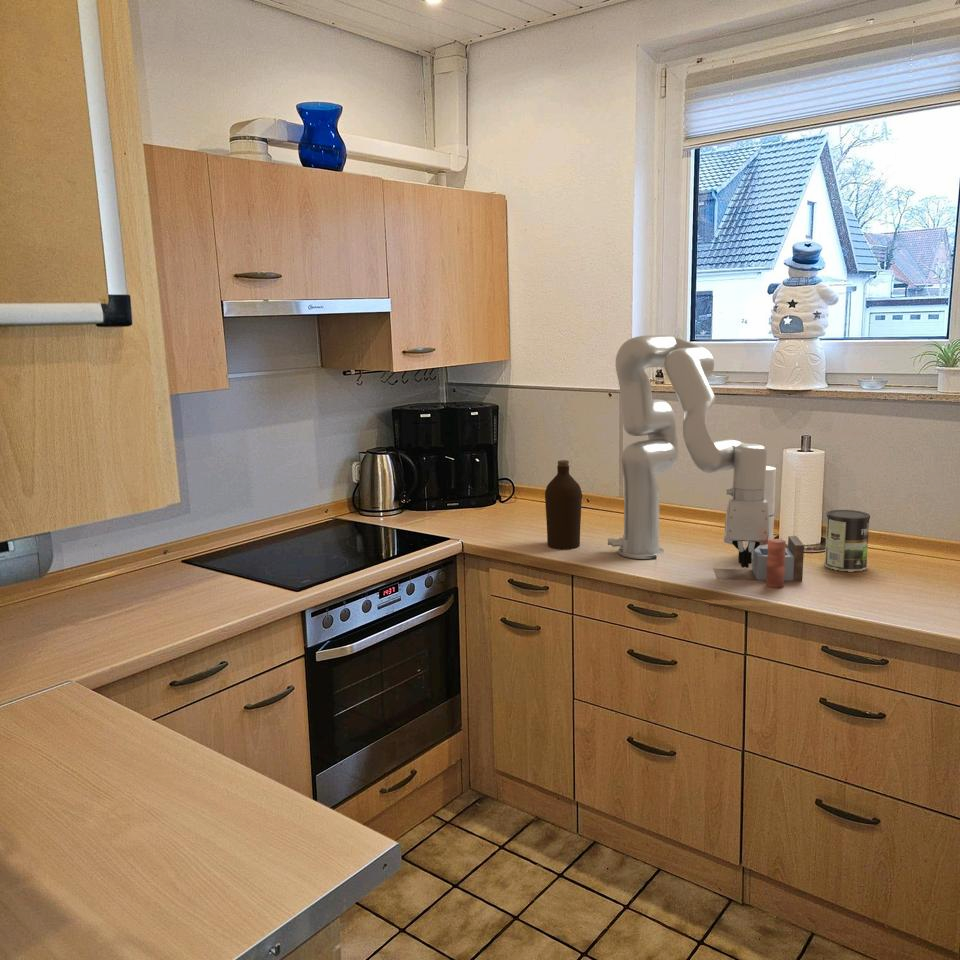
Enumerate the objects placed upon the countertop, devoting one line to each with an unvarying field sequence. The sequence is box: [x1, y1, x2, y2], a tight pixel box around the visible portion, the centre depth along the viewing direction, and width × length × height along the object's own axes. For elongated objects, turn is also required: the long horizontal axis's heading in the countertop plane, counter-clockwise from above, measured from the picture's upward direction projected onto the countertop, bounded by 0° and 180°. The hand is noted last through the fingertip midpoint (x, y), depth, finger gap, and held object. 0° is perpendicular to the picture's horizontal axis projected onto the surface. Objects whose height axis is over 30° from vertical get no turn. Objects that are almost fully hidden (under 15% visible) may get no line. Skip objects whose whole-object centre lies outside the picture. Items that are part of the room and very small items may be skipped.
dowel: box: [765, 538, 787, 589], centre depth 202 cm, size 4×4×12 cm
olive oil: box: [544, 459, 583, 550], centre depth 245 cm, size 11×11×25 cm
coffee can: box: [823, 509, 871, 573], centre depth 219 cm, size 10×10×14 cm
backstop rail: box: [713, 535, 805, 583], centre depth 211 cm, size 20×9×10 cm, turn 80°
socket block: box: [751, 547, 795, 582], centre depth 211 cm, size 8×8×6 cm
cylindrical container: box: [744, 465, 777, 560], centre depth 227 cm, size 7×7×25 cm
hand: (744, 566), depth 212 cm, fingers closed
